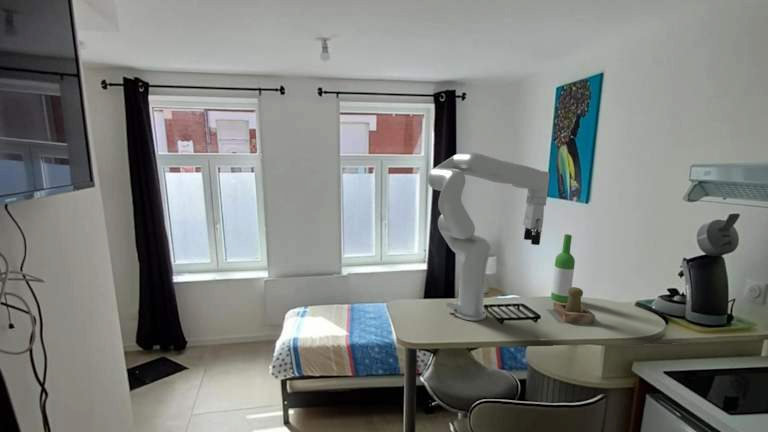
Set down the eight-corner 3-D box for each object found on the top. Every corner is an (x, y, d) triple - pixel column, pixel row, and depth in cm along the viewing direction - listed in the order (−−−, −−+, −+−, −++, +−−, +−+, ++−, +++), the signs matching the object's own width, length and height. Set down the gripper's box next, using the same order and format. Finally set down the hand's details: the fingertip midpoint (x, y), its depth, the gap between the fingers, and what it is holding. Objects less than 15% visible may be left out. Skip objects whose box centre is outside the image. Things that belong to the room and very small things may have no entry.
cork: (583, 318, 140) (587, 291, 138) (566, 316, 141) (569, 289, 139) (578, 312, 146) (581, 286, 144) (562, 310, 147) (565, 284, 145)
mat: (558, 323, 138) (558, 322, 138) (545, 310, 150) (545, 309, 150) (596, 326, 137) (596, 325, 137) (580, 312, 150) (580, 311, 150)
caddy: (564, 322, 138) (565, 313, 138) (552, 310, 149) (553, 302, 149) (593, 324, 138) (595, 315, 137) (580, 312, 149) (581, 304, 148)
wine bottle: (546, 297, 165) (554, 233, 160) (560, 296, 167) (568, 232, 162) (559, 304, 157) (567, 236, 153) (573, 303, 160) (582, 236, 155)
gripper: (520, 198, 157) (516, 237, 159) (533, 202, 140) (528, 246, 142) (538, 199, 156) (533, 238, 159) (553, 204, 139) (548, 247, 142)
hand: (531, 242), depth 150 cm, fingers open, 9 cm apart
